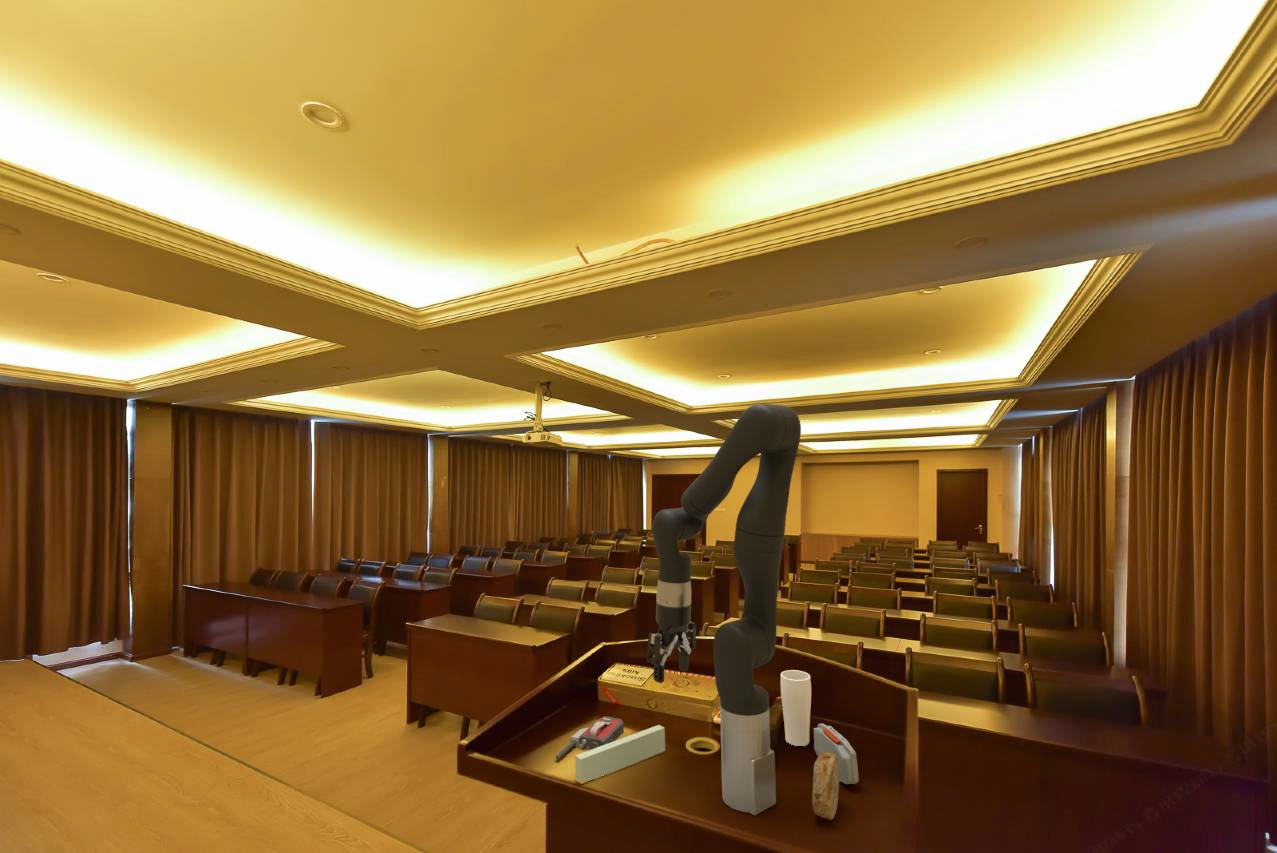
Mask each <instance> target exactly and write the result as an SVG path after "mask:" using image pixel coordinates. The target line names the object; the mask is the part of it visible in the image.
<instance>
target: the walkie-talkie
mask: <svg viewBox="0 0 1277 853" xmlns="http://www.w3.org/2000/svg"><path fill="white" fill-rule="evenodd" d="M624 732H625V731H624V721H623V720H622V718H616V717H611V716H605V715H604V716H603V717H600V718H598V719H597V720H596V721H595V722H594V723H593V724H591V725H590V726H589V727H584V728H581V729H579V730H578V731H577V732H575V734H573V735H571V736H570V742H569V743H568V744H567V745H566V746H565V747H564V748H562V749H561V750H560V751H559V752H558V753H557V754H555V759H556V760H560V759H561V758H562V757H563V756H565V755H566V754H567V753H568V752H569V751H571V749H572V748H574V747H578V749H579V750H582V749H583V750H587V751H589V750H592V749H594V748H597V747H600V746H603V745H605V744H608V743H611V742H613V741H616V740H618V738H619V737H621V735H622V734H623V733H624Z"/></svg>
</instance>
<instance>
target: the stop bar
mask: <svg viewBox="0 0 1277 853" xmlns="http://www.w3.org/2000/svg"><path fill="white" fill-rule="evenodd" d="M665 734H666V731H665V727H664V726H662V725H660V724H658V725H655V726H652V727H650V728H646V729H644V730H640V731H638V732H635V733H633V734H630V735H628V736H627V735H626V736H625V737H621V738H619V739H616V740H615V741H613V742H611V743H608V744H605V745H603V746H600V747H597V748H594V749H592V750H587V751H584V752H581V753H578V754H576V755H575V757H574V758H575V761H574V762H575V764H574V765H575V780H576V779H577V780H579V781H581V782H583V781H589V780H592V779H595V778H598V777H600V778H602V777H601V776H603V777H605V776H607V775H610V774H612V773H615V772H618V771H619V770H622V769H624V768H628V767H629V766H631V765H635V764H637V763H639V762H641V761H644V760H647V759H648V758H651V757H654V756H656V755H659V754H662V753H663V752H666V735H665ZM609 773H610V774H609ZM606 774H607V775H606ZM604 775H605V776H604ZM598 779H599V778H598ZM595 780H596V779H595Z"/></svg>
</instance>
